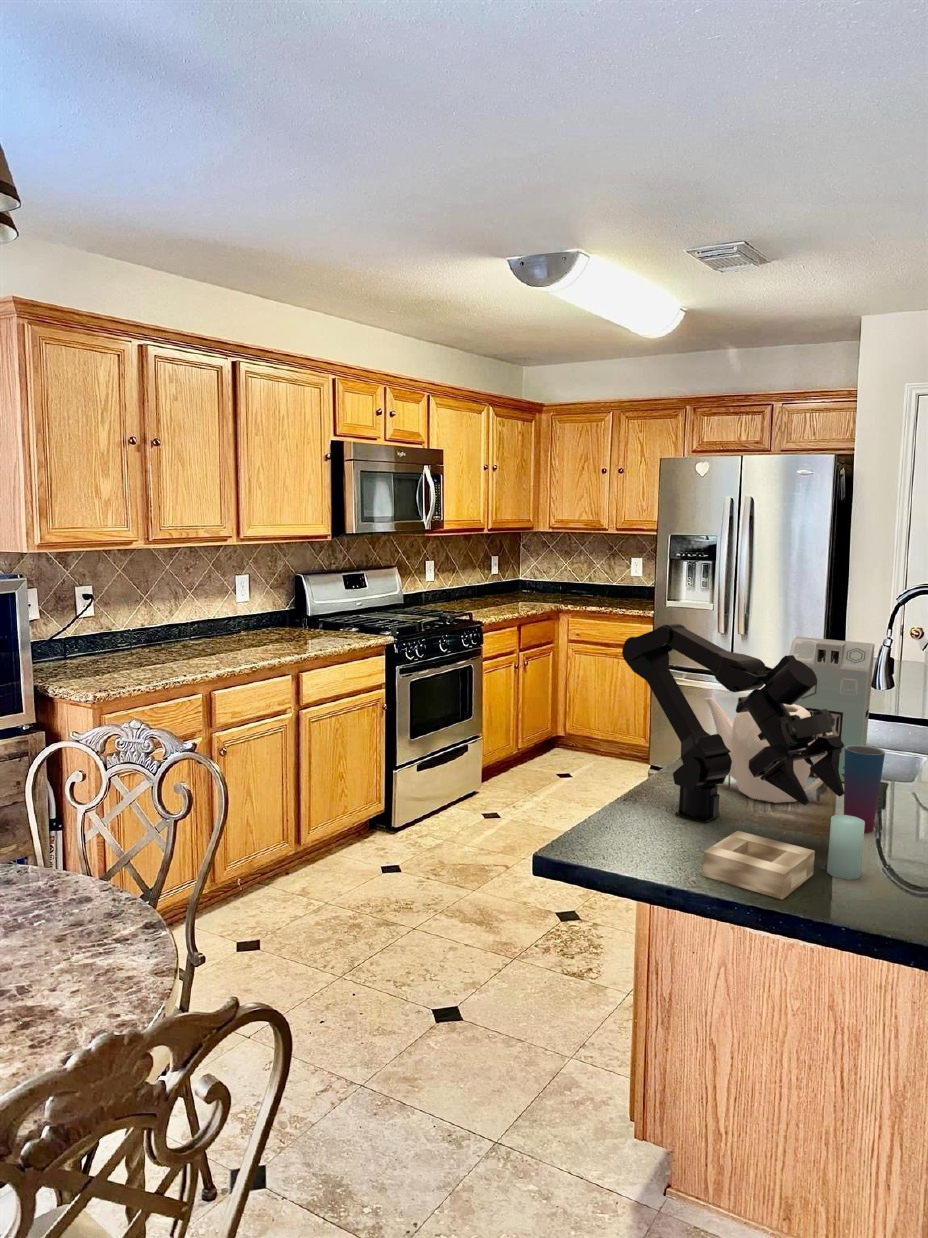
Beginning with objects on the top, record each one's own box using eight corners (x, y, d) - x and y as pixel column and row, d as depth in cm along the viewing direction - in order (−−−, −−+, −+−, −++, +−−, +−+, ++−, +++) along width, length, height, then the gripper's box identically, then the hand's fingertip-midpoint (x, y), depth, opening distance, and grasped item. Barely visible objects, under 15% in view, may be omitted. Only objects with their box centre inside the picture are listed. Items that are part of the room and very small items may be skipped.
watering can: (709, 774, 202) (715, 690, 199) (838, 796, 188) (845, 707, 186) (688, 792, 188) (693, 702, 186) (824, 818, 175) (832, 721, 172)
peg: (822, 873, 148) (826, 820, 147) (832, 865, 152) (837, 812, 150) (854, 882, 145) (859, 827, 143) (864, 873, 148) (868, 820, 147)
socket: (702, 875, 146) (703, 851, 145) (736, 853, 155) (737, 830, 155) (782, 899, 137) (784, 874, 137) (813, 874, 147) (814, 850, 147)
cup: (882, 836, 165) (889, 756, 164) (842, 832, 167) (849, 753, 165) (873, 823, 172) (880, 746, 170) (835, 820, 173) (841, 743, 172)
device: (779, 773, 204) (789, 640, 200) (786, 765, 210) (795, 636, 207) (859, 786, 196) (870, 648, 192) (863, 777, 202) (874, 643, 199)
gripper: (767, 699, 148) (821, 783, 140) (838, 689, 158) (892, 767, 150) (726, 736, 155) (775, 817, 147) (796, 724, 165) (846, 800, 157)
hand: (824, 799), depth 150 cm, fingers open, 9 cm apart
